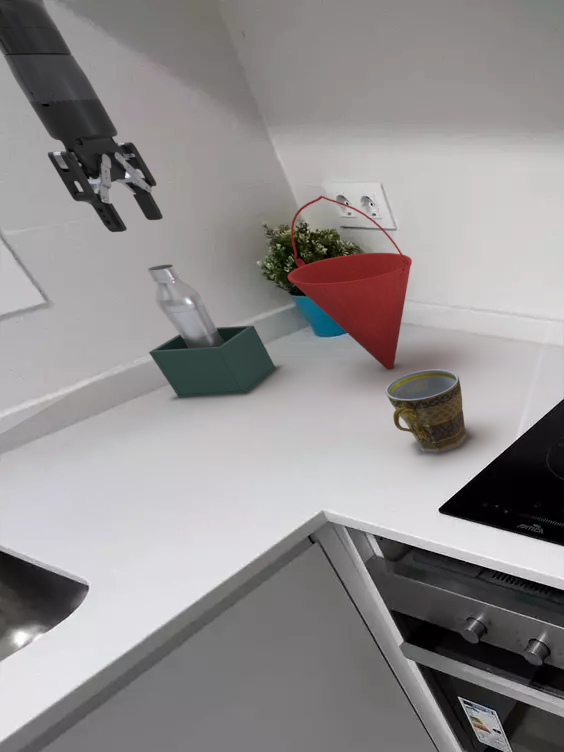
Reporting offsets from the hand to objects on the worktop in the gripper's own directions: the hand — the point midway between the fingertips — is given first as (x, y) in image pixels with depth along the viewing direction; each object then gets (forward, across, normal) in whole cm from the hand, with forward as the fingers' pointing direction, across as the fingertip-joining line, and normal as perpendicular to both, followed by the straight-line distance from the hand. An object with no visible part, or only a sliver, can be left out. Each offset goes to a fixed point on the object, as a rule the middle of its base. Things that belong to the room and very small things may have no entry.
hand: (138, 225), depth 87 cm
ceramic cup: (+27, +29, +46) cm, 61 cm away
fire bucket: (+27, -2, +29) cm, 40 cm away
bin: (+27, 0, 0) cm, 27 cm away
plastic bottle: (+26, 0, 0) cm, 27 cm away
